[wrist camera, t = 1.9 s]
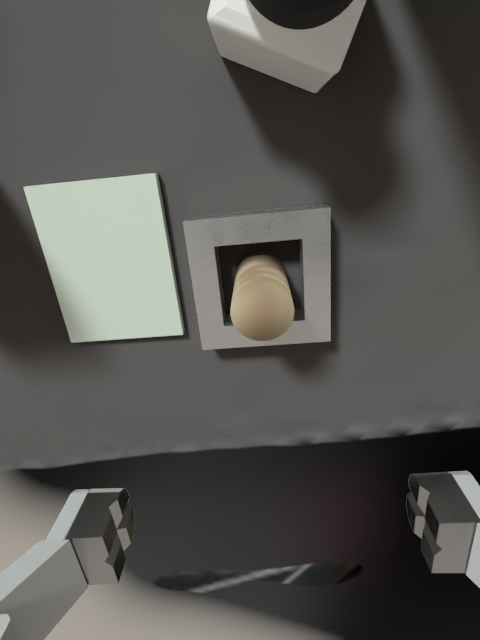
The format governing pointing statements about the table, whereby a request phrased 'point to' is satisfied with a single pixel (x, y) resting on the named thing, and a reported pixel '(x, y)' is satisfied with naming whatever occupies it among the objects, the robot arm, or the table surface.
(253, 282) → the maple peg
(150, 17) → the table surface
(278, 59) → the medicine bottle
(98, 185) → the sage pad
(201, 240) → the eye collar
